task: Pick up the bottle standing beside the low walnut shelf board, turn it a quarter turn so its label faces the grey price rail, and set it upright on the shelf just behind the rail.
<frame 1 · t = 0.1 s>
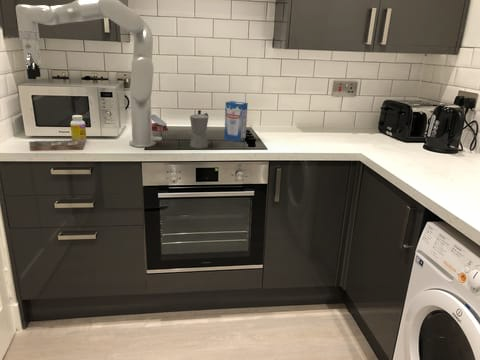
hand: (34, 77, 172), 31 cm above the worktop, tool pointing down, fingers open, 9 cm apart
coffeepot: (200, 146, 196), on the worktop
supplement bottle: (79, 142, 193), on the worktop
milk carton: (235, 140, 212), on the worktop
shelf: (58, 147, 182), on the worktop
canned food: (158, 130, 227), on the worktop
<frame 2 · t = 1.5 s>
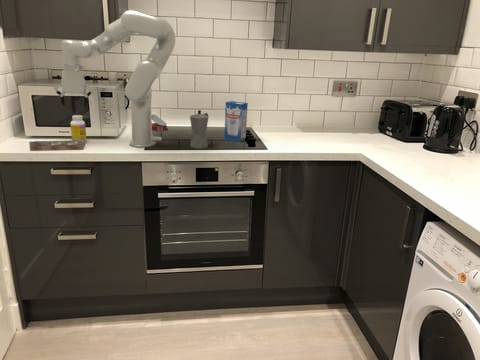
hand: (75, 105, 187), 18 cm above the worktop, tool pointing down, fingers open, 9 cm apart
nothing on the worktop moved.
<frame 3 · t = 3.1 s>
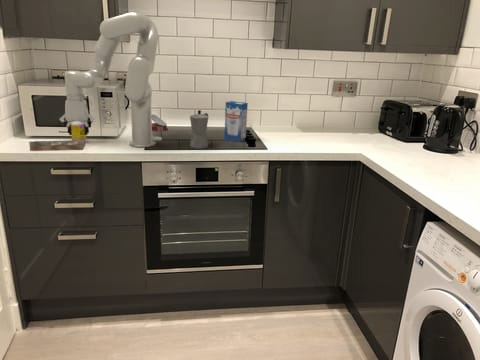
hand: (78, 134, 192), 4 cm above the worktop, tool pointing down, fingers closed on supplement bottle, 6 cm apart
supplement bottle: (79, 142, 193), on the worktop, touching gripper
everything else where it was.
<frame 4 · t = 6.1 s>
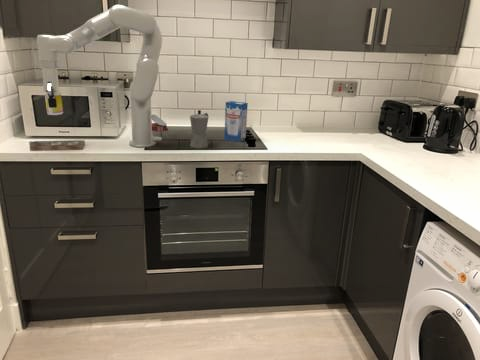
hand: (54, 105, 176), 19 cm above the worktop, tool pointing down, fingers closed on supplement bottle, 6 cm apart
supplement bottle: (55, 114, 177), point 15 cm above the worktop, touching gripper
everything else where it was.
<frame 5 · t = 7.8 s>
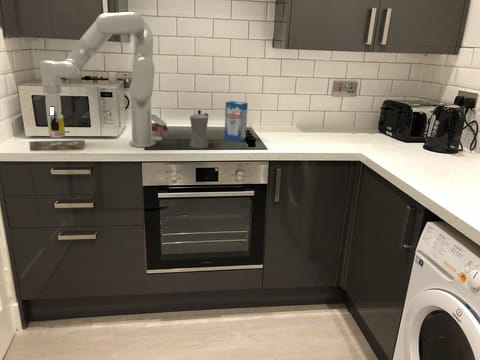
hand: (56, 128, 179), 9 cm above the worktop, tool pointing down, fingers closed on supplement bottle, 6 cm apart
supplement bottle: (57, 136, 181), point 5 cm above the worktop, touching gripper
everything else where it was.
when the fingers open (7 cm above the worktop, at t = 9.1 s): supplement bottle drops 1 cm, resting on shelf.
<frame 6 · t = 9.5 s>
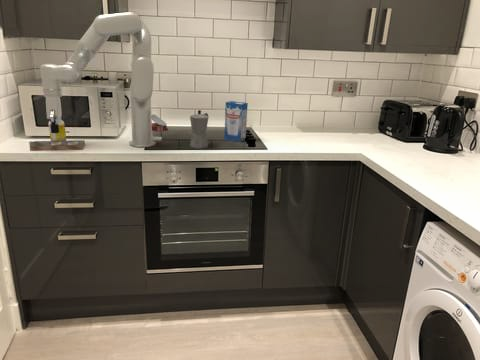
hand: (57, 130, 180), 8 cm above the worktop, tool pointing down, fingers open, 9 cm apart
supplement bottle: (58, 143, 182), point 2 cm above the worktop, touching shelf
everything else where it was.
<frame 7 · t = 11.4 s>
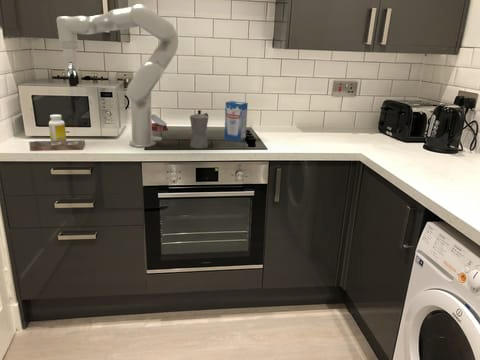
hand: (74, 85, 181), 28 cm above the worktop, tool pointing down, fingers open, 9 cm apart
nothing on the worktop moved.
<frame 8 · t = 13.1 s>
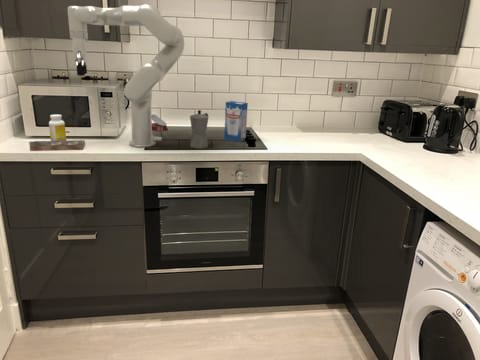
hand: (82, 74, 183), 32 cm above the worktop, tool pointing down, fingers open, 9 cm apart
nothing on the worktop moved.
at the end: supplement bottle inside the target area on the shelf (0.6 cm from its centre), point 1.8 cm above the shelf's base; supplement bottle tilted 0°; the gripper is holding nothing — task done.
